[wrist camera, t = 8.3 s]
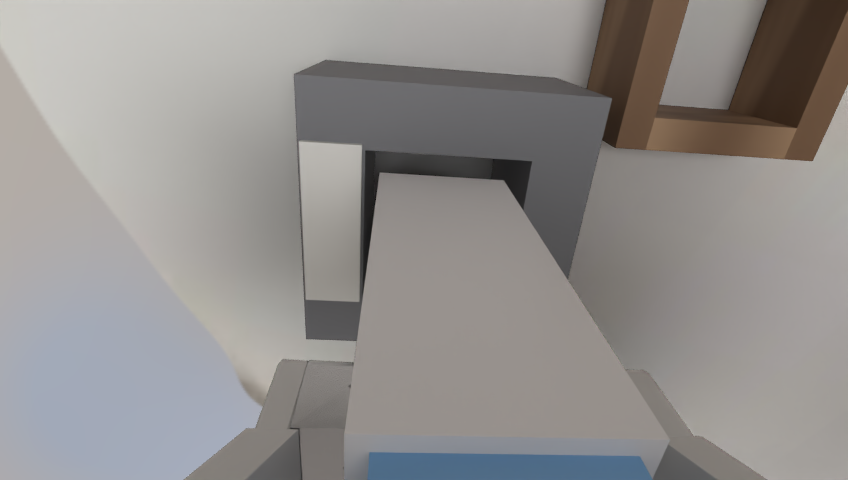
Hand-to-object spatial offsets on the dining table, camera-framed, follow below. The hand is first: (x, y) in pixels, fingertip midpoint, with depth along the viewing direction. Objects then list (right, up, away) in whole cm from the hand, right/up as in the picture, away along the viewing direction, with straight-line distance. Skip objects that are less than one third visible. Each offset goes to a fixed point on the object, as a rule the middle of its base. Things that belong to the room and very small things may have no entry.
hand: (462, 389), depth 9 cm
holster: (+11, +12, +10) cm, 19 cm away
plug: (0, +3, +6) cm, 7 cm away
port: (0, +6, +13) cm, 14 cm away
